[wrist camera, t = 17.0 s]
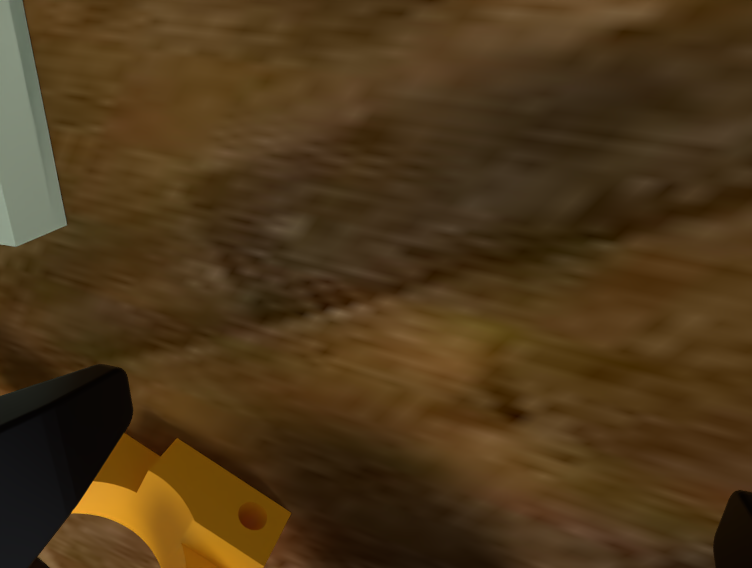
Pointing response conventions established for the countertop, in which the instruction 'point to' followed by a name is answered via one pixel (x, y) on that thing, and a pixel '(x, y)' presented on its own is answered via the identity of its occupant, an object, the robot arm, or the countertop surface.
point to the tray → (24, 139)
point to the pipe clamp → (185, 507)
